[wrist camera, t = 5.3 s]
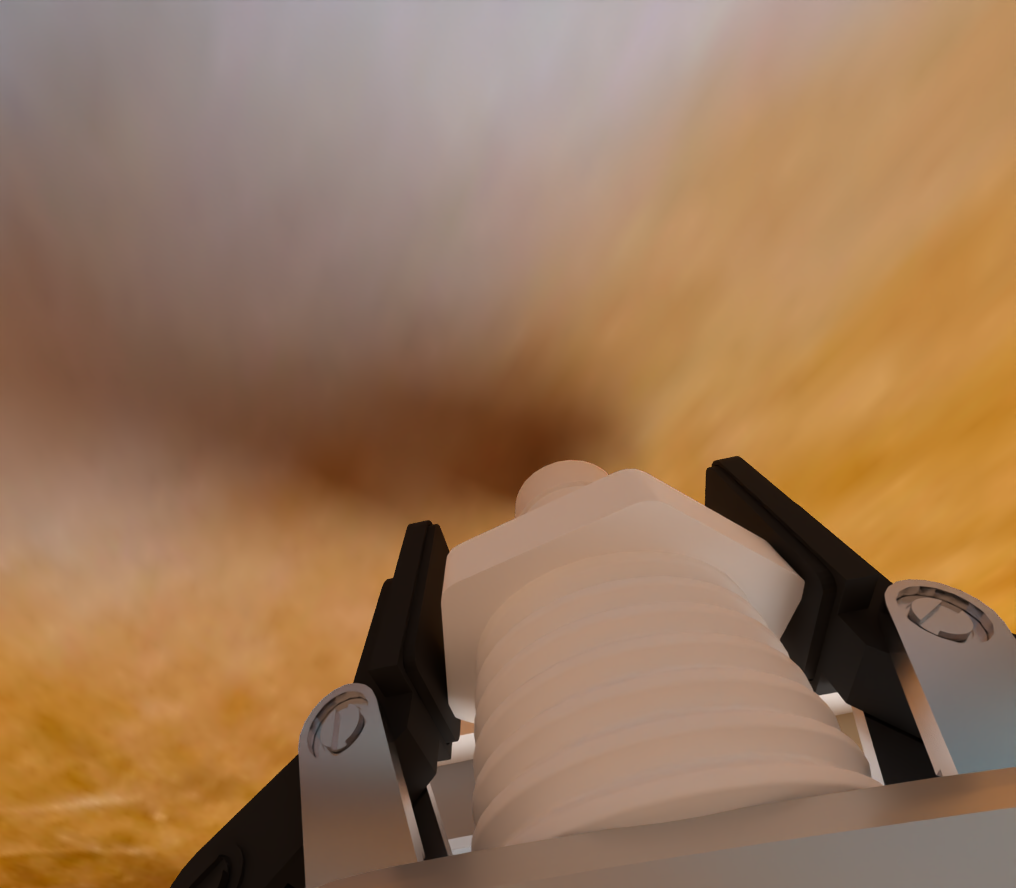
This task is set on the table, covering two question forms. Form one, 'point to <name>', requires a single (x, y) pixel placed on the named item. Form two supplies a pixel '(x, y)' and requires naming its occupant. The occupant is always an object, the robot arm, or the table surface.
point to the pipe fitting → (629, 664)
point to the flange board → (458, 783)
